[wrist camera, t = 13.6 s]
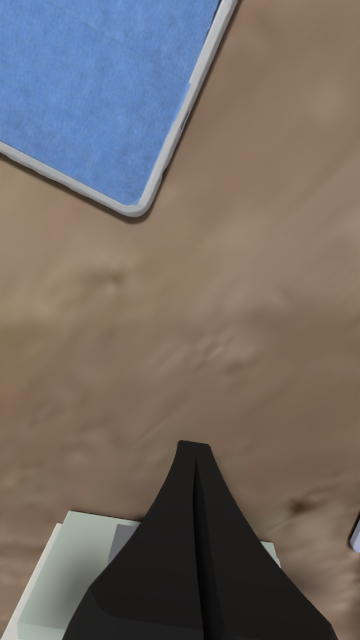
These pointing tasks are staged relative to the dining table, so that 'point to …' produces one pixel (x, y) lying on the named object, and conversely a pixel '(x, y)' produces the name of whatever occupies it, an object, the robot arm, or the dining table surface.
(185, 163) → the dining table surface
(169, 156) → the tablet computer
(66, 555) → the tray
